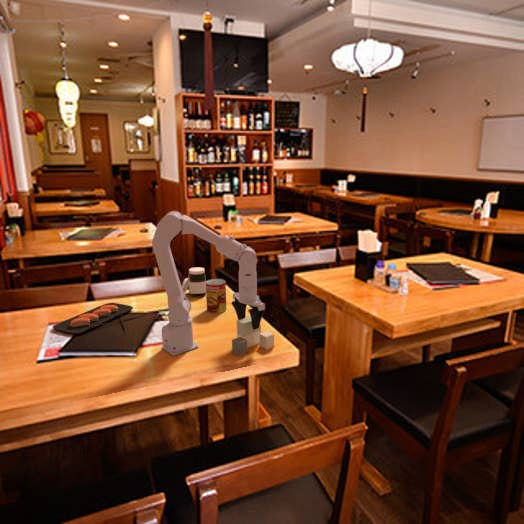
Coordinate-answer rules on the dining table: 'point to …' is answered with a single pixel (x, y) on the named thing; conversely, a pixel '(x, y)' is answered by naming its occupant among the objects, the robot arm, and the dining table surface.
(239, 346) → the charcoal cube brick
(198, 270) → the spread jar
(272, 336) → the pale grey cube brick
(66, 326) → the sushi plate
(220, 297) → the canned food
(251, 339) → the cream brick
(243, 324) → the sage green brick
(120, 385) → the dining table surface
